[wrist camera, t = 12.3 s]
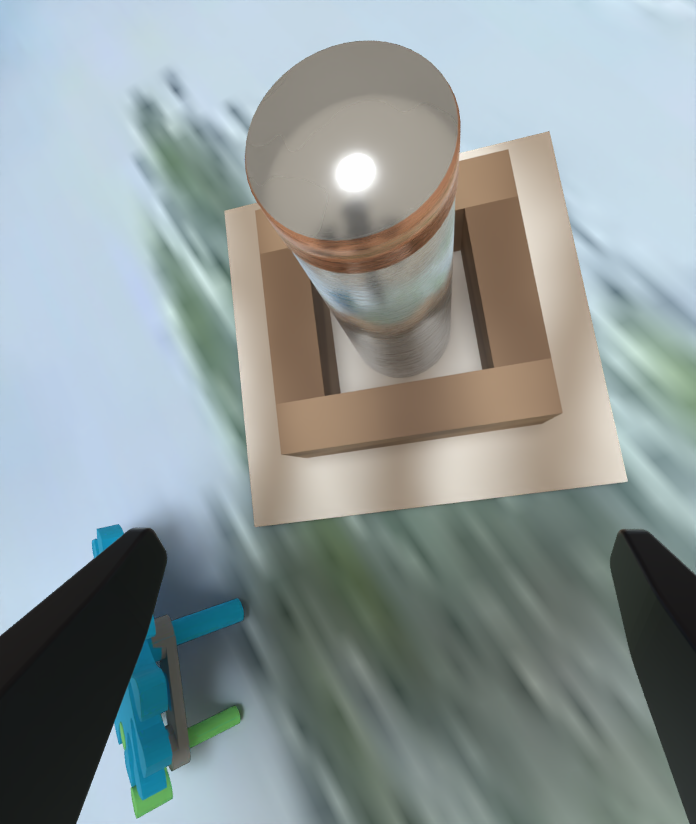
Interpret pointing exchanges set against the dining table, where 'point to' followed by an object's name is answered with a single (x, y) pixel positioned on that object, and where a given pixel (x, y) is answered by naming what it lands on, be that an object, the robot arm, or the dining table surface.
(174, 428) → the dining table surface
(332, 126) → the grey topped cylinder
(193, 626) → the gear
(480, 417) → the socket
